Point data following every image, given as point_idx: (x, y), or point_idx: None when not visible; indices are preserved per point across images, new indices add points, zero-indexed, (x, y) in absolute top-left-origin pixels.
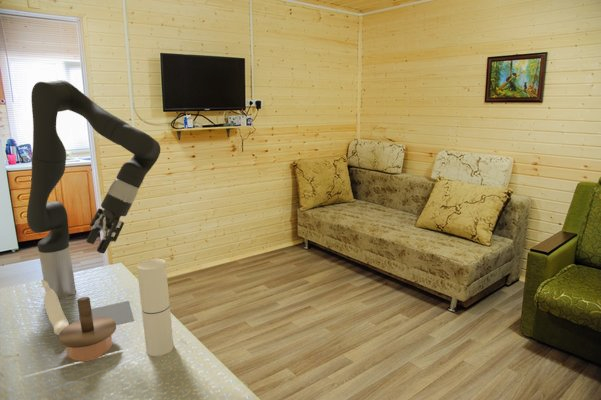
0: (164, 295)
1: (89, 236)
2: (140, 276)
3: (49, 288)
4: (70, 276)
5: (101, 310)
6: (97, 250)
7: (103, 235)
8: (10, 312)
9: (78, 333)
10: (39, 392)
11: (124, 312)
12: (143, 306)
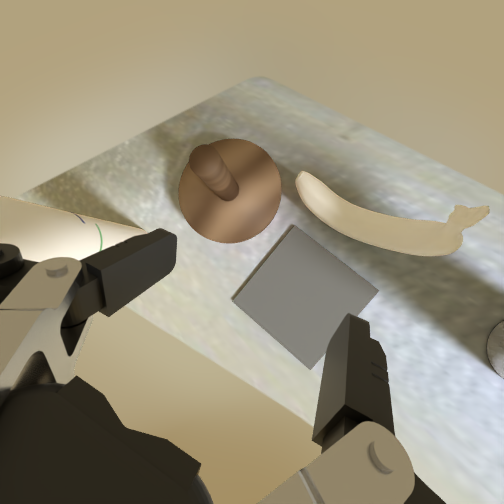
0: None
1: (347, 346)
2: None
3: (445, 228)
4: None
5: (332, 311)
6: (160, 228)
7: (64, 285)
8: None
9: (233, 172)
10: (218, 98)
11: (276, 321)
12: (54, 208)
